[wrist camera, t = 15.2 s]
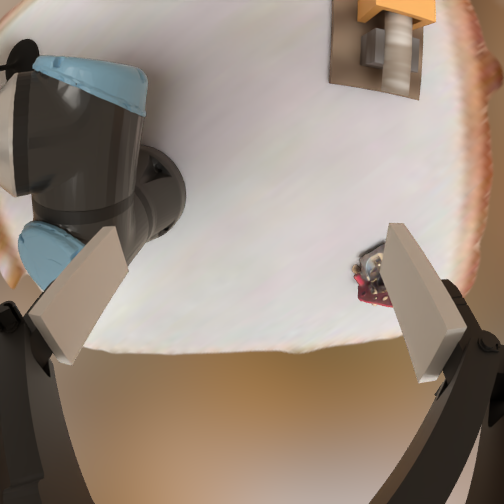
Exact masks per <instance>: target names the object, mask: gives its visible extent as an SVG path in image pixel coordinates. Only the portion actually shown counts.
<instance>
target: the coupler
mask: <svg viewBox="0 0 504 504" xmlns="http://www.w3.org/2000/svg"><path fill="white" fill-rule="evenodd" d="M381 10H386V11H390V12H394V13H398V14H401V15H405V16H408V17H412V30H415V29H417V28H420V27H423V26H426V25H429V24H432V23H435V22H436V9H435V0H358V16H357V22H362V23H366V22H367V21H369V20H370V19H371V18H372V17H374V16H375V15H376V14H378V13H379V12H380V11H381Z"/></svg>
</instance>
